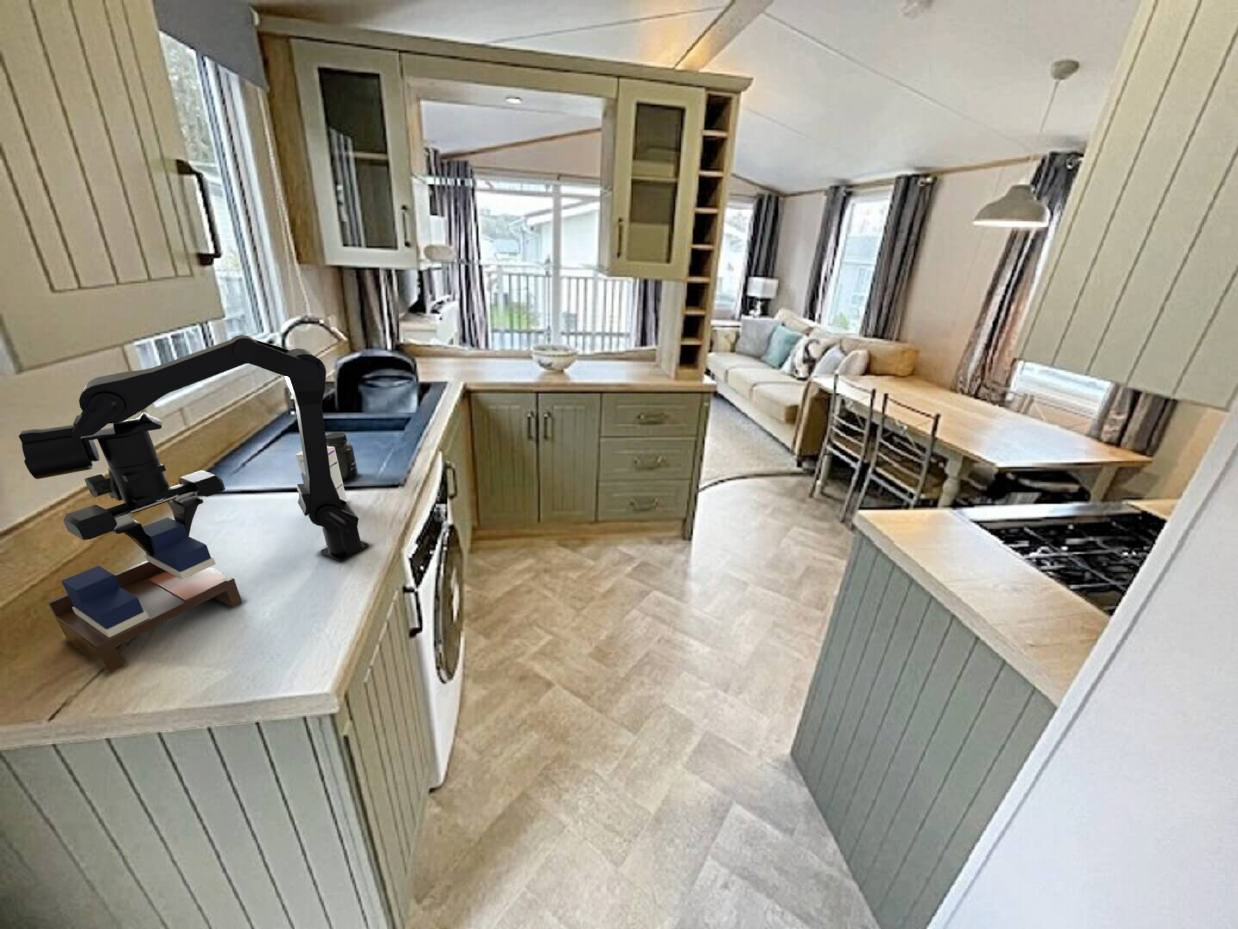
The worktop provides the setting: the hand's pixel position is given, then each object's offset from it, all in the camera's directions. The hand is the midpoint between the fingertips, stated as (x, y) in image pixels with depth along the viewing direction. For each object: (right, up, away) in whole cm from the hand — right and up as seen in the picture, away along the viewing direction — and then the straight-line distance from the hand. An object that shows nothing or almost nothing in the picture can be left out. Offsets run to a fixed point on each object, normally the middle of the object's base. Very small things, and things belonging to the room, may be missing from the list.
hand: (168, 547), depth 85 cm
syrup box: (+7, +4, +35) cm, 36 cm away
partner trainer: (-2, -9, -7) cm, 12 cm away
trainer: (+2, -2, 0) cm, 3 cm away
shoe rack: (-1, -12, -1) cm, 12 cm away
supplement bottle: (+3, +10, +49) cm, 50 cm away
